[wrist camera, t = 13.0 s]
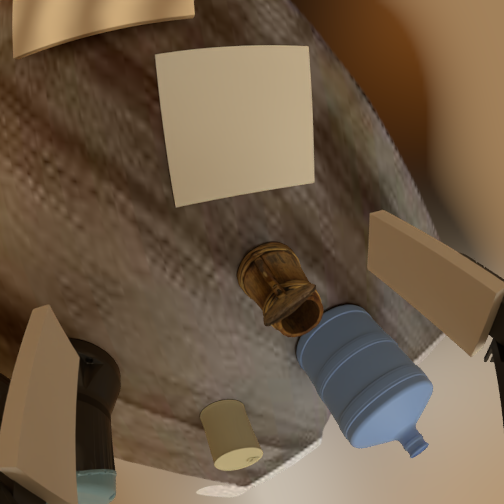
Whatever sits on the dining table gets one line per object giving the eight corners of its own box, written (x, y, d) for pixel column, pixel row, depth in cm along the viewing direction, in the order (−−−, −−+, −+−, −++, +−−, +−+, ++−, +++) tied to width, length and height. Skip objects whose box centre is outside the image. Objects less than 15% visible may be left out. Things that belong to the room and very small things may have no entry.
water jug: (282, 333, 53) (369, 472, 29) (360, 286, 54) (470, 397, 30) (306, 378, 61) (376, 489, 37) (371, 337, 62) (453, 433, 38)
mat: (175, 205, 37) (175, 207, 37) (155, 55, 29) (155, 54, 28) (312, 181, 42) (314, 182, 41) (306, 46, 33) (308, 46, 32)
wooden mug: (261, 203, 41) (335, 274, 26) (306, 271, 48) (375, 349, 33) (205, 246, 41) (248, 339, 26) (258, 307, 48) (311, 396, 33)
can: (235, 424, 62) (253, 470, 52) (194, 425, 58) (208, 474, 48) (251, 399, 59) (272, 447, 49) (206, 398, 55) (223, 451, 45)
